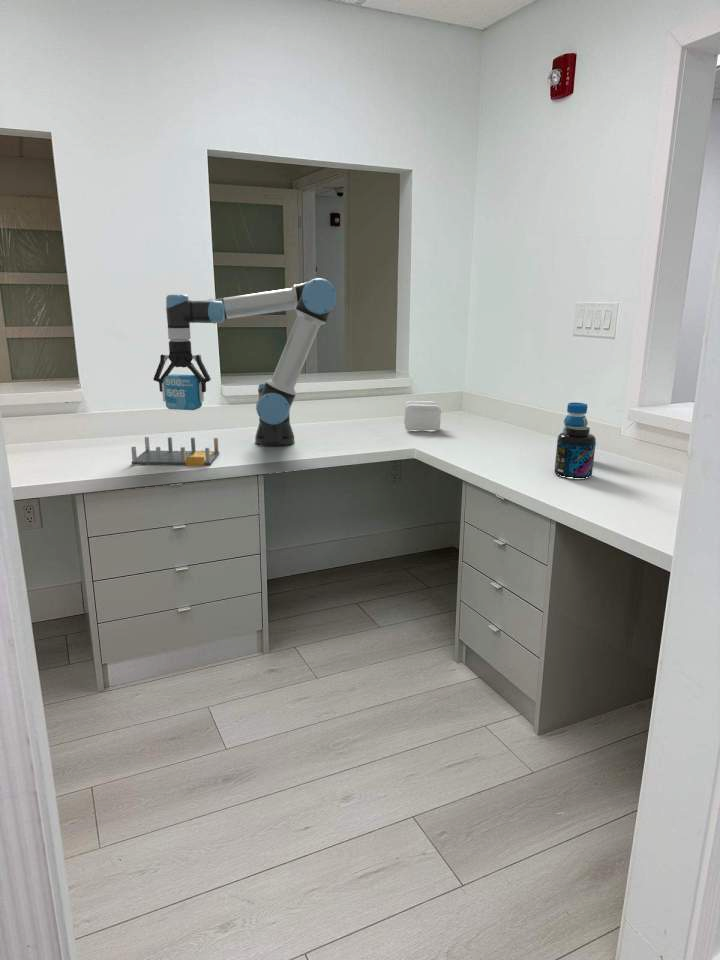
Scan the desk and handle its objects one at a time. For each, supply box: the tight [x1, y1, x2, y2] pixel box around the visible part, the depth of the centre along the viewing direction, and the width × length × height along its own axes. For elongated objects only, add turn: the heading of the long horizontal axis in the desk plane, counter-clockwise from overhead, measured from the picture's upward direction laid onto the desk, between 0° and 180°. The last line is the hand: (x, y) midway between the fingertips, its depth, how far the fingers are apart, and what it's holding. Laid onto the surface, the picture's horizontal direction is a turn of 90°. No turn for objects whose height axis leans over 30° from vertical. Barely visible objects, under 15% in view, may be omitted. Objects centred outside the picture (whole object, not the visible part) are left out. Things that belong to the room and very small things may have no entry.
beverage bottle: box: [562, 401, 589, 432], centre depth 240 cm, size 8×8×20 cm
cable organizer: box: [403, 400, 442, 431], centre depth 286 cm, size 15×11×12 cm
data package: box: [164, 373, 203, 411], centre depth 239 cm, size 12×4×12 cm, turn 80°
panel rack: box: [131, 436, 220, 467], centre depth 232 cm, size 26×17×6 cm, turn 91°
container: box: [554, 425, 597, 478], centre depth 219 cm, size 12×12×16 cm
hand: (183, 401), depth 239 cm, fingers closed on data package, 12 cm apart
